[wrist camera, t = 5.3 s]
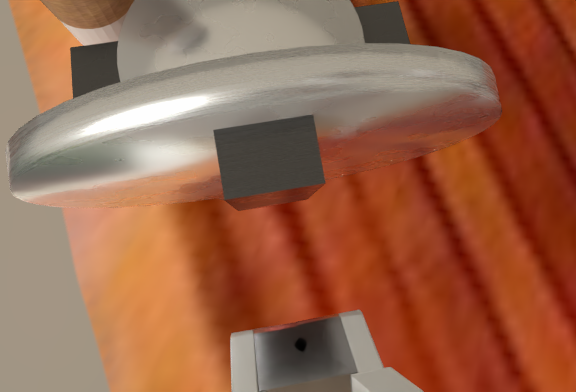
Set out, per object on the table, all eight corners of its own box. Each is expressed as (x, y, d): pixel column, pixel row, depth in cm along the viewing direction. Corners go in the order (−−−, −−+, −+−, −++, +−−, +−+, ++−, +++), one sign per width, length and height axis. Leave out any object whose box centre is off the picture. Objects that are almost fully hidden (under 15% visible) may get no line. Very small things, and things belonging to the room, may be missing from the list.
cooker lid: (649, -11, 8) (681, 119, 8) (398, 150, 24) (407, 195, 23) (-194, 111, 7) (-182, 260, 7) (122, 194, 23) (128, 242, 22)
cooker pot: (357, 20, 35) (382, -75, 27) (397, 180, 32) (441, 132, 23) (116, 54, 34) (60, -33, 26) (131, 225, 31) (72, 191, 22)
